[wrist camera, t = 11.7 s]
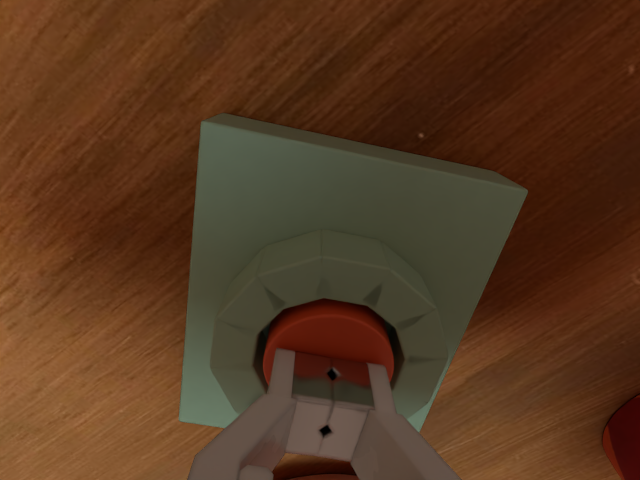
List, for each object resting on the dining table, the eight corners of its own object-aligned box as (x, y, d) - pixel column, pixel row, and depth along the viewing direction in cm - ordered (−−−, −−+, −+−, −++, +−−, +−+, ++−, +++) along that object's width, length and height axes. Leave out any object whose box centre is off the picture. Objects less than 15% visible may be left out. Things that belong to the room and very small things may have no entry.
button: (279, 270, 11) (273, 304, 9) (398, 292, 11) (411, 328, 10) (262, 364, 12) (253, 407, 11) (368, 381, 13) (375, 425, 11)
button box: (221, 111, 11) (174, 130, 8) (496, 170, 12) (571, 212, 8) (195, 378, 16) (158, 469, 12) (398, 409, 17) (420, 504, 13)
